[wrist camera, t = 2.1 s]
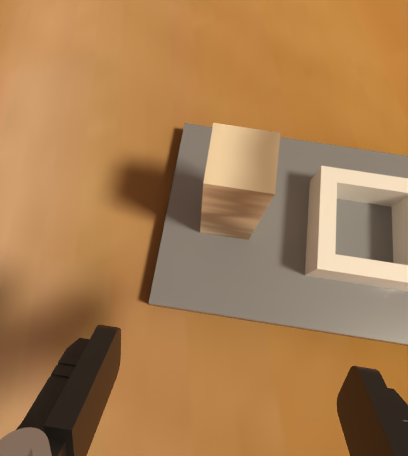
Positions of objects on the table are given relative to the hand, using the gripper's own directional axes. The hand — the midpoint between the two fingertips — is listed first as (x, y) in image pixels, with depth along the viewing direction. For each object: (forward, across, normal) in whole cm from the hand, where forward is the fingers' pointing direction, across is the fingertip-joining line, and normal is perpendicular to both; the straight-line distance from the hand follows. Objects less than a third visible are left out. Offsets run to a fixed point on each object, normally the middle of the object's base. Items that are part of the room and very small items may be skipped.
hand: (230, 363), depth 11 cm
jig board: (+20, -7, +4) cm, 22 cm away
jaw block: (+20, 0, +3) cm, 20 cm away
